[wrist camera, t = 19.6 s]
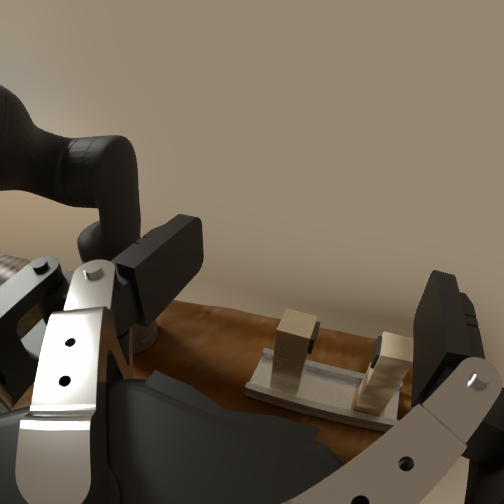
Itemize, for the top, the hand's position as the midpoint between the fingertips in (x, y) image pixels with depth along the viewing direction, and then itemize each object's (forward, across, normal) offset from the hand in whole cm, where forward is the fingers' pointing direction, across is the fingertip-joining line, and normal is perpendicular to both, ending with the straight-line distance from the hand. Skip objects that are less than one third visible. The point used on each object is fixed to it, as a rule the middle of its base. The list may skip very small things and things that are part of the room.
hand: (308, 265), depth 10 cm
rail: (+19, -3, +34) cm, 39 cm away
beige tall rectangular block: (+19, -10, +33) cm, 39 cm away
